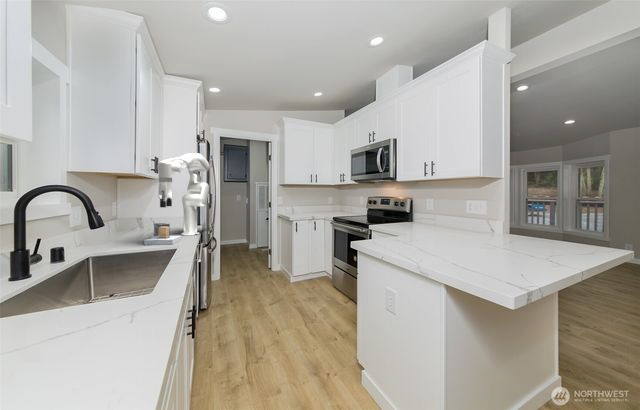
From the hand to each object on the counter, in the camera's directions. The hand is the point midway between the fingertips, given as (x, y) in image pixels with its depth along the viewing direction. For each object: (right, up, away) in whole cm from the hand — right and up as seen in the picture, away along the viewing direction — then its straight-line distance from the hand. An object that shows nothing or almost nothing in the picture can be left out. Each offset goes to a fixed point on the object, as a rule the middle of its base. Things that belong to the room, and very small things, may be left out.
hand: (166, 206), depth 166 cm
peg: (0, -23, -2) cm, 23 cm away
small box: (-12, -23, +14) cm, 29 cm away
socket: (0, -23, -2) cm, 23 cm away
